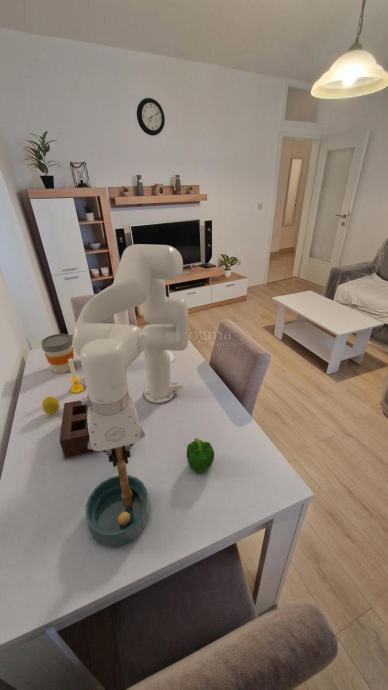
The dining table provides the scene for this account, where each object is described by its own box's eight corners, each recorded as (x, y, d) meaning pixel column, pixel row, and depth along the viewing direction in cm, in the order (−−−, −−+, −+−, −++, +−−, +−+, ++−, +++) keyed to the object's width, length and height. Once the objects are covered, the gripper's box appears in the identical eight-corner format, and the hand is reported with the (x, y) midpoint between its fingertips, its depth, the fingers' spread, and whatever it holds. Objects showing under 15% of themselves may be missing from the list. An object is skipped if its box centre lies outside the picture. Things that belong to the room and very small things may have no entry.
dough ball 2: (130, 517, 72) (134, 517, 70) (122, 528, 70) (125, 528, 68) (122, 509, 72) (126, 508, 70) (114, 519, 70) (117, 519, 68)
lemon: (55, 419, 102) (50, 403, 98) (42, 417, 103) (36, 401, 99) (64, 409, 107) (59, 393, 103) (51, 407, 108) (46, 391, 104)
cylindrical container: (115, 347, 149) (109, 304, 136) (121, 341, 155) (115, 299, 143) (128, 348, 148) (123, 305, 135) (133, 342, 154) (128, 300, 142)
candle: (73, 394, 115) (65, 363, 107) (68, 388, 118) (60, 357, 110) (85, 389, 118) (78, 358, 110) (81, 383, 121) (74, 353, 113)
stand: (98, 413, 105) (94, 397, 101) (99, 450, 90) (95, 433, 86) (68, 419, 102) (64, 403, 98) (64, 458, 88) (59, 441, 84)
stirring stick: (131, 499, 75) (121, 439, 62) (132, 506, 73) (123, 445, 61) (123, 502, 74) (112, 441, 62) (125, 509, 72) (113, 448, 60)
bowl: (144, 482, 81) (142, 468, 78) (154, 536, 68) (152, 522, 65) (89, 497, 77) (86, 483, 74) (89, 557, 64) (84, 544, 61)
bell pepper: (216, 475, 83) (218, 452, 78) (189, 480, 82) (190, 457, 77) (209, 452, 90) (210, 430, 85) (184, 456, 89) (184, 434, 84)
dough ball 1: (133, 498, 77) (132, 486, 77) (132, 501, 74) (132, 489, 75) (122, 500, 76) (121, 488, 77) (121, 503, 73) (120, 491, 74)
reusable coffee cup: (49, 363, 134) (41, 336, 127) (76, 358, 139) (70, 331, 131) (48, 377, 124) (40, 349, 117) (78, 371, 129) (71, 343, 121)
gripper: (65, 420, 50) (83, 484, 59) (152, 403, 54) (157, 464, 63) (68, 394, 56) (84, 455, 65) (146, 381, 60) (151, 440, 69)
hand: (120, 459), depth 64 cm, fingers closed on stirring stick, 2 cm apart
